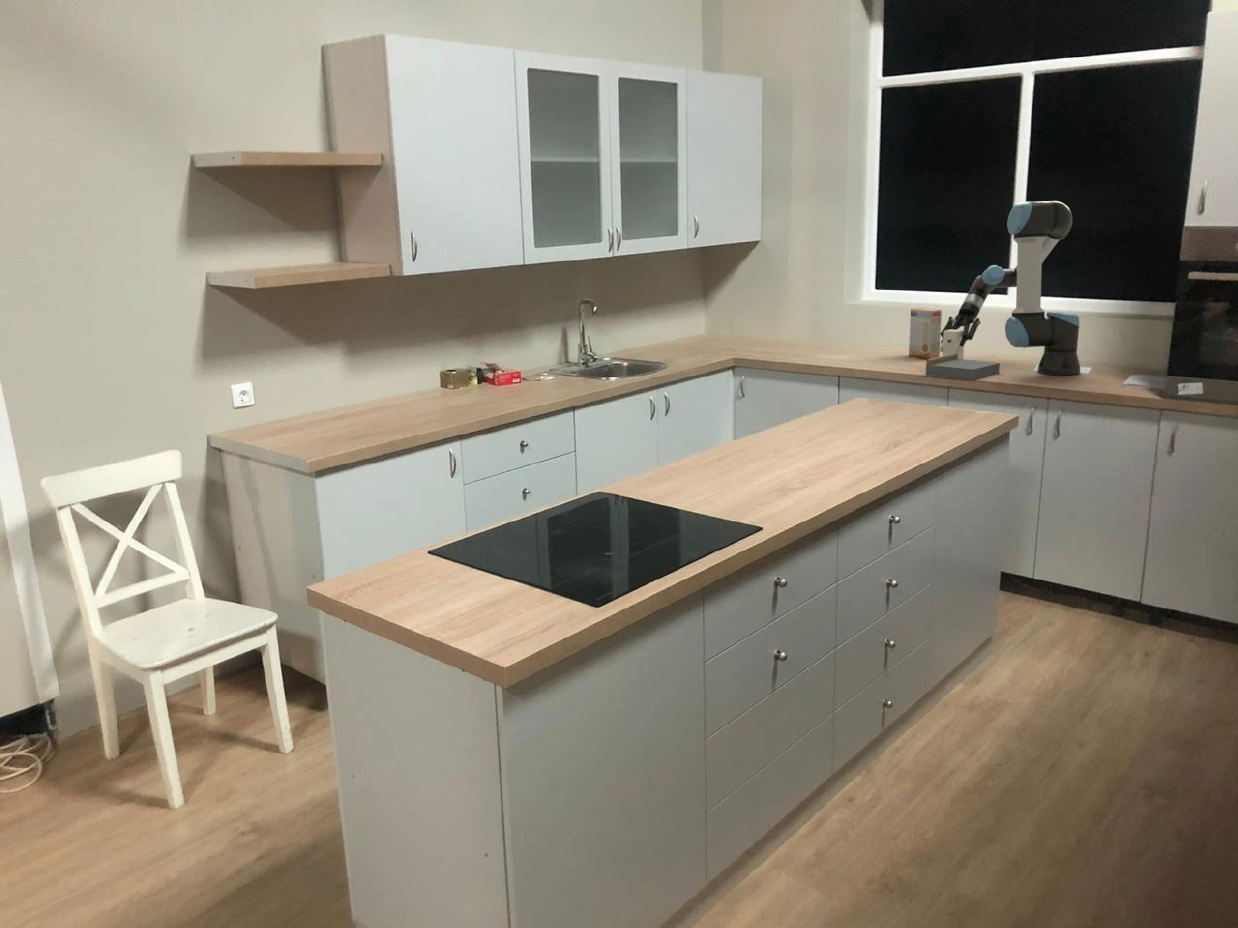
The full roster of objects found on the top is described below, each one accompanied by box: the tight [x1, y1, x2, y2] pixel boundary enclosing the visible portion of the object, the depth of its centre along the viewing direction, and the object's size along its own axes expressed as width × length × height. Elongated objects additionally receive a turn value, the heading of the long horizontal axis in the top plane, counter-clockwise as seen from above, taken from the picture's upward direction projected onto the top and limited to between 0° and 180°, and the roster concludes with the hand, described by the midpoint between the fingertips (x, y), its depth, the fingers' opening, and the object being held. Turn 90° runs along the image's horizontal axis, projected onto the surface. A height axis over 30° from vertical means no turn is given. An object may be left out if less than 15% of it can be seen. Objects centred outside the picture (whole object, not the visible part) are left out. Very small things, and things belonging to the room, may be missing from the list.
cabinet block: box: [942, 329, 965, 360], centre depth 405 cm, size 6×7×12 cm
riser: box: [925, 354, 1001, 381], centre depth 383 cm, size 20×20×6 cm
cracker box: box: [908, 307, 943, 360], centre depth 426 cm, size 14×6×21 cm, turn 22°
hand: (948, 351), depth 404 cm, fingers closed on cabinet block, 6 cm apart
